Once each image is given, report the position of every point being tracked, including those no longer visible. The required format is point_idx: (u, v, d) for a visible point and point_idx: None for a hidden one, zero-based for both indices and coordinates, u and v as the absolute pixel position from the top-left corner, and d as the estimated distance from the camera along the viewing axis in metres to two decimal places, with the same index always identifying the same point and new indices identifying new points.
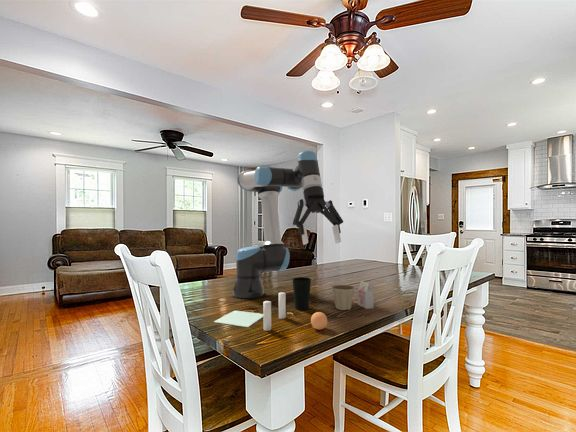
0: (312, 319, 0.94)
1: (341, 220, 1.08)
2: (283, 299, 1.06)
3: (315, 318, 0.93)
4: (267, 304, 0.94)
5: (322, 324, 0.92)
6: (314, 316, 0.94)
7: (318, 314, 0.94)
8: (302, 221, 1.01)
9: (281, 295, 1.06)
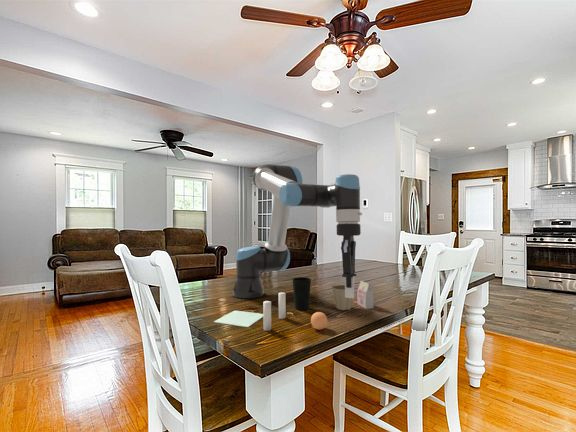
0: (312, 319, 0.94)
1: (354, 270, 0.94)
2: (283, 299, 1.06)
3: (315, 318, 0.93)
4: (267, 304, 0.94)
5: (322, 324, 0.92)
6: (314, 316, 0.94)
7: (318, 314, 0.94)
8: (352, 273, 0.90)
9: (281, 295, 1.06)
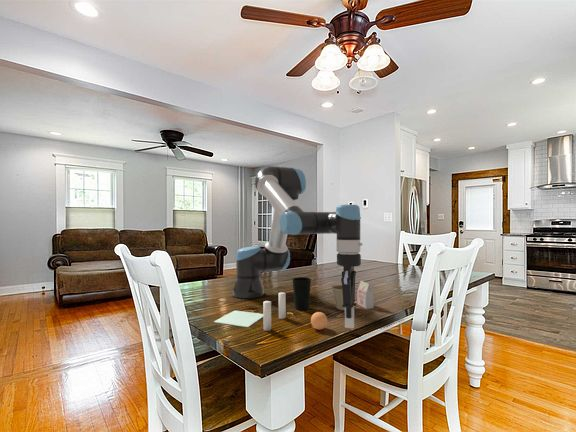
0: (312, 319, 0.94)
1: (354, 299, 0.94)
2: (283, 299, 1.06)
3: (315, 318, 0.93)
4: (267, 304, 0.94)
5: (322, 324, 0.92)
6: (314, 316, 0.94)
7: (318, 314, 0.94)
8: (352, 303, 0.90)
9: (281, 295, 1.06)
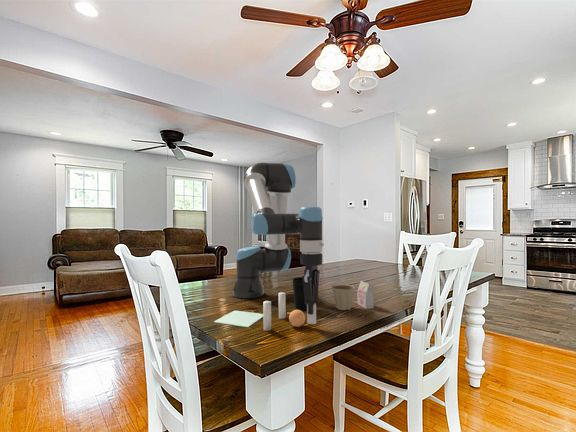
0: (297, 325, 0.96)
1: (317, 296, 0.99)
2: (283, 299, 1.06)
3: (293, 324, 0.96)
4: (267, 304, 0.94)
5: (292, 316, 0.96)
6: (294, 325, 0.96)
7: None
8: (313, 300, 0.95)
9: (281, 295, 1.06)
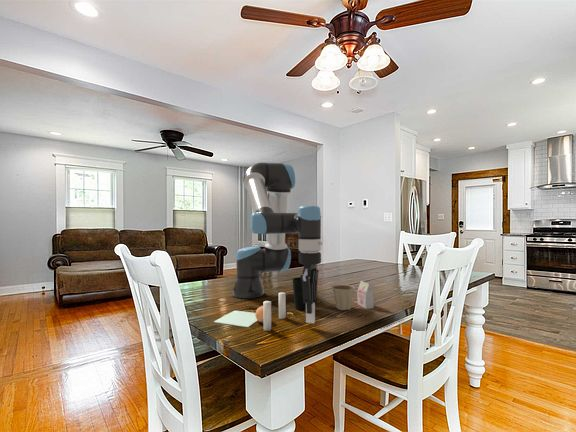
0: (256, 316, 1.01)
1: (316, 295, 0.99)
2: (283, 299, 1.06)
3: (256, 313, 1.01)
4: (267, 304, 0.94)
5: None
6: (255, 313, 1.01)
7: (257, 309, 1.02)
8: (312, 300, 0.94)
9: (281, 295, 1.06)
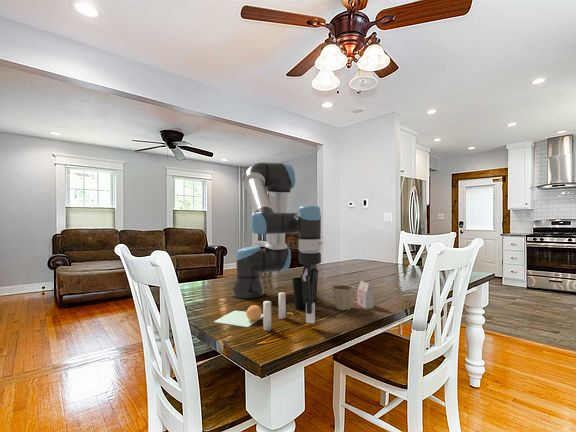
0: (251, 320, 1.02)
1: (316, 295, 0.99)
2: (283, 299, 1.06)
3: (248, 318, 1.02)
4: (267, 304, 0.94)
5: (250, 310, 1.01)
6: (249, 319, 1.02)
7: (247, 316, 1.03)
8: (312, 300, 0.94)
9: (281, 295, 1.06)
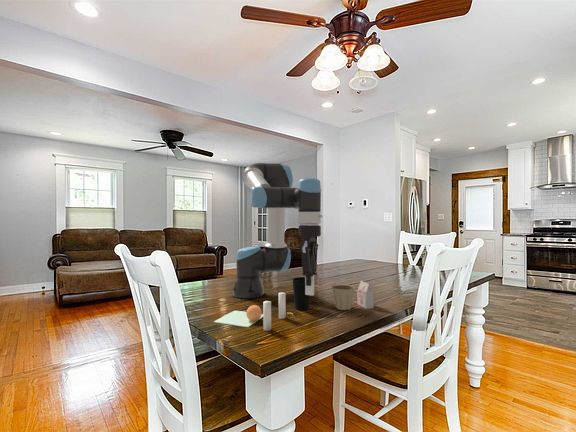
0: (251, 320, 1.02)
1: (315, 268, 0.99)
2: (283, 299, 1.06)
3: (248, 317, 1.02)
4: (267, 304, 0.94)
5: (250, 310, 1.01)
6: (249, 319, 1.02)
7: (247, 316, 1.03)
8: (311, 272, 0.95)
9: (281, 295, 1.06)
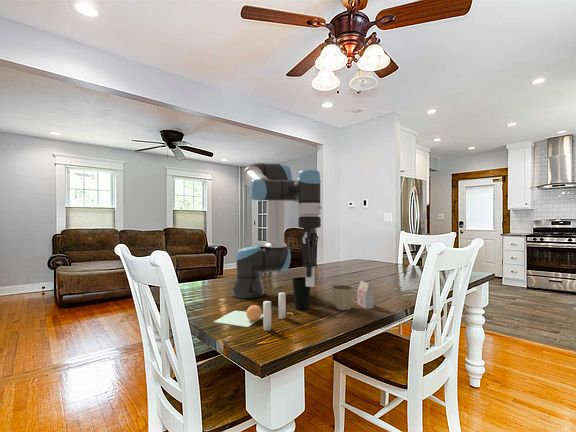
0: (251, 320, 1.02)
1: (315, 260, 0.99)
2: (283, 299, 1.06)
3: (248, 317, 1.02)
4: (267, 304, 0.94)
5: (250, 310, 1.01)
6: (249, 319, 1.02)
7: (247, 316, 1.03)
8: (312, 263, 0.95)
9: (281, 295, 1.06)
